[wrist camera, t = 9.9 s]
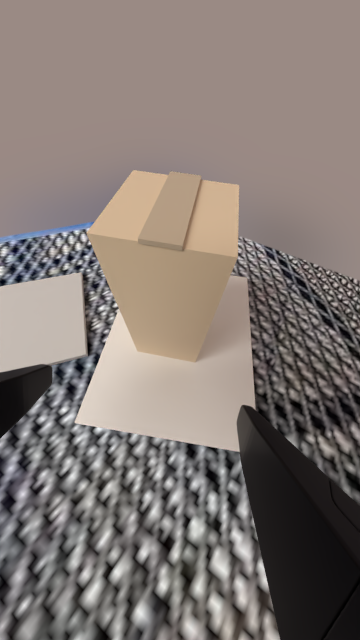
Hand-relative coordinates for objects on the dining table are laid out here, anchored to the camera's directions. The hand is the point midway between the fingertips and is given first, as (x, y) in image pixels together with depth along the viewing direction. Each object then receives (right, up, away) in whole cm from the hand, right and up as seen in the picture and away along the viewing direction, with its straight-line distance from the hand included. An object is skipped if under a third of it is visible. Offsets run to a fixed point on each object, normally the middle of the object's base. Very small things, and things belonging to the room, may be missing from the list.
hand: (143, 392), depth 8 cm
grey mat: (-14, +3, +11) cm, 18 cm away
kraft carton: (+1, +2, +10) cm, 10 cm away
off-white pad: (+2, +2, +11) cm, 11 cm away
